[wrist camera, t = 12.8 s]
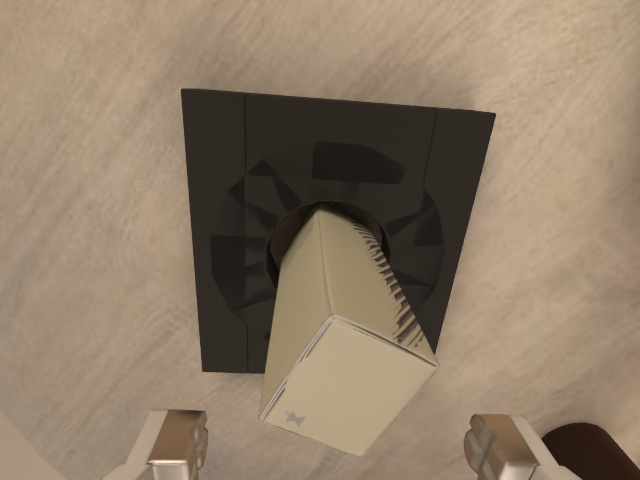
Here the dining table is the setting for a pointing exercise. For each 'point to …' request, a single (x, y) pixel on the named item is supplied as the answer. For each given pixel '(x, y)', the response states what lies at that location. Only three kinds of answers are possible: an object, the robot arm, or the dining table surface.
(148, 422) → the robot arm
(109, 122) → the dining table surface
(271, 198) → the pad
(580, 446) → the bottle
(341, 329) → the box
